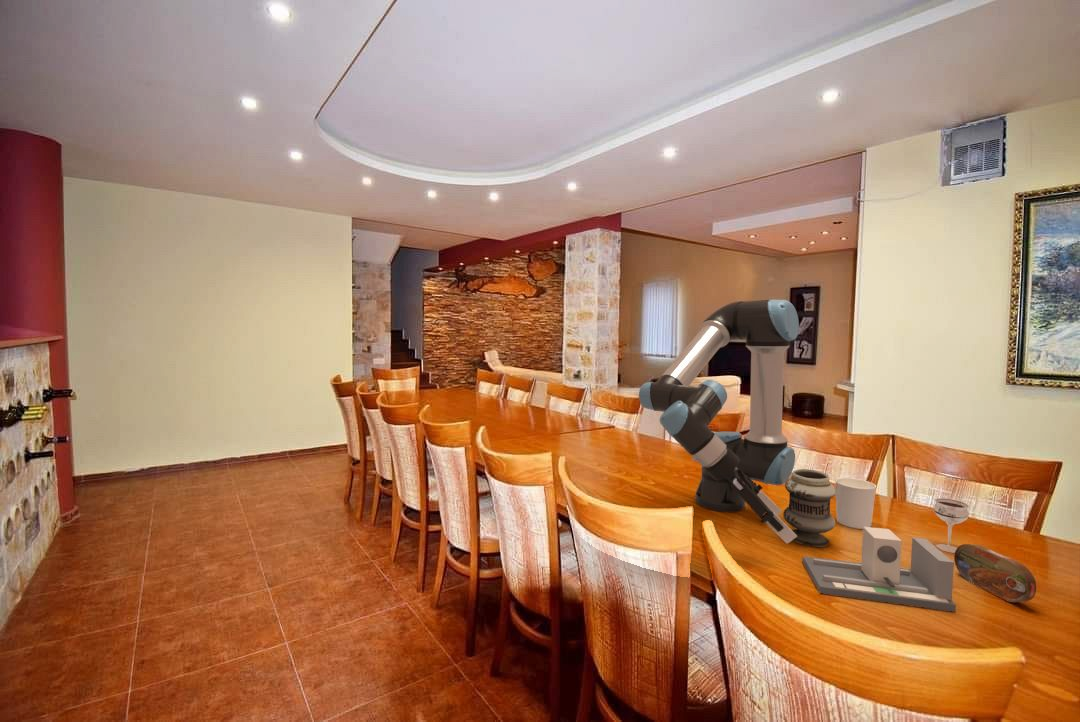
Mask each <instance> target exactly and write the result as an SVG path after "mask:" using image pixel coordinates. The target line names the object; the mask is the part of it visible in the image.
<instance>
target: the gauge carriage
mask: <svg viewBox="0 0 1080 722" xmlns="http://www.w3.org/2000/svg"><path fill="white" fill-rule="evenodd" d="M861 540H862V543H861V544H862V545H861V562H860V563H861V570H862V571H863V573H864V574H865V575H866V576H867V578H868V579H869V580H870V581H876V582H884V583H888V584H889V585H890V586H891V587H895V586H894V584H899V580H900V568H901V561H902V559H901V558H902V544H903V543H902V540H901V539H900V538H899V537H898V536H897V535H896V534H895V533H894V532H893V531H892V530H891V529H889V528H882V527H881V528H880V527H872V526H871V527H863V529H862V539H861Z"/></svg>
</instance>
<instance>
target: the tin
mask: <svg viewBox="0 0 1080 722" xmlns="http://www.w3.org/2000/svg"><path fill="white" fill-rule="evenodd" d="M956 548H957V549H956V551H955V553H953V554H954V556H953V557H954V558H953V559H954V561H953V562H954V566H955V567H956V569H957V571H958V573H959V574H960V575H961V576H962V578H963V579H965V580H966V581H967V580H968V582H969V581H970V582H969V583H971V582H972V583H971V584H973V583H974V584H975V586H976V585H977V587H978V586H979V587H978V588H980V587H981V588H980V589H982V588H983V590H984V589H985V590H984V591H986V590H987V591H986V592H988V591H989V592H988V593H990V592H991V593H990V594H992V593H993V594H992V595H994V594H995V595H994V596H996V597H997V596H998V598H999V597H1000V598H999V599H1001V598H1002V599H1001V600H1003V599H1004V600H1003V601H1005V600H1006V602H1008V603H1024V602H1025V603H1026V602H1030V601H1031V600H1032V599H1034V597H1035V595H1036V593H1037V581H1036V579H1035V577H1034V575H1033V573H1032V572H1031V570H1030V569H1029V568H1027V566H1025V565H1024V564H1023V563H1021V562H1019V561H1017V560H1015V559H1014V558H1010V557H1008V556H1006V555H1003V554H1001V553H999V552H996V551H994V550H992V549H989V548H987V547H985V546H982V545H979V544H971V543H970V544H969V543H967V544H966V543H964V544H961V545H959V546H958V547H956ZM974 584H973V585H974Z"/></svg>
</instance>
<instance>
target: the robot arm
mask: <svg viewBox="0 0 1080 722" xmlns="http://www.w3.org/2000/svg"><path fill="white" fill-rule="evenodd" d="M799 330H800V322H799V316H798V313H797V310H796V308H795V306H794V305H793V304H792V303H791V302H790V301H789V300H786V299H773V298H772V299H764V300H762V299H761V300H759V299H758V300H744V301H743V300H741V301H738V300H736V301H734V302H731V303H727V304H725V305H723V306H722V307H720V308H718V309H716V310H715V311H714V312H712V313H711V314H710V315H709V316H708V317H706V319H705V320H704V321H702V323H701V324H700V326H699V328H698V332H697V334H696V335H695V336H694V337H693V339H692V340H691V341H690V342H689V343H688V345H686V347H684V349H683V350H682V351H681V353H680V354H679V355H678V356H677V357H676V358H675V360H674V361H673V362H671V364H670V366H669V367H668V368H666V370H665V371H664V372H663V373H662V375H661V376H660V377H659V378H658V380H656V381H655V382H654V381H647V382H645V383H643V384H642V385H641V386H640V389H639V391H638V392H639V393H638V400H639V403H640V405H641V406H642V408H643V409H647V410H651V411H654V412H663V413H662V414H661V415H660V417H659V422H660V425H661V426H662V427H663V428H664V430H665V431H666V432H667V433H668V435H670V437H672V438H673V439H674V440H675V441H676V442H677V443H678V444H679V445H680V446H681V447H682V448H683V449H684V450H685V451H686V452H687V453H688V454H689V455H691V457H692V458H691V460H692V462H696V461H697V463H698V464H699V465H700V466H701V478H700V481H699V484H698V487H696V488H697V489H696V492H695V496H694V497H695V498H694V499H695V503H696V504H697V505H699V506H700V507H702V508H705V509H708V510H710V511H711V510H712V511H716V512H723V513H724V512H725V513H734V512H735V513H736V512H740V511H743V510H745V509H746V504H747V505H748V507H749V508H751V510H752V511H753V513H755V514H756V516H757V517H759V519H760V520H759V522H760V523H761V524H762V525H763V524H765V523H766V525H767V526H768V527H769V528H770V529H771V530H773V532H774V533H776V535H778V537H780V539H782V541H784V543H785V544H787V545H788V544H789V543H791V542H792V540H793V539H795V538H796V537H797V535H796V534H795V533H794V532H793V531H792V530H793V529H791V528H790V527H789V526H788V525H787V524H786V523H785V522H784V521H783V520H782V519H781V518H780V517H779V515H780V514H781V513H783V511H782V509H781V508H779V506H778V505H776V503H775V502H774V501H773V500H771V499H770V498H769V497H768V496H767V494H766V493H764V492H763V490H762V489H763V486H762V485H761V484H758V485H757V483H756V482H760V483H764V484H765V485H773V486H782V485H785V482H786V481H787V480H788V479H789V478H791V476H792V473H793V471H794V467H795V462H796V452H795V450H794V448H792V447H791V446H788V438H787V437H786V436H785V435H784V434H783V433H782V432H783V405H784V404H783V399H784V397H783V396H784V393H783V392H784V362H785V361H784V360H785V357H784V356H785V355H784V354H785V352H786V351H787V350H788V349H789V348H790V346H791V341H794V340H796V339H797V337H798V335H799V332H800V331H799ZM735 340H743V341H745V348H747V349H748V350H749V351H750V353H751V354H750V355H751V357H750V396H749V397H750V399H749V400H750V405H749V407H750V408H749V409H750V410H749V431H748V432H747V433H745V434H744V436H743V435H742V433H741V432H738V431H713V430H711V428H710V427H709V425H710V424H711V422H712V421H713V420H714V419H715V417H716V416H717V415H718V413H719V412H720V411H721V410H722V409H723V406H724V404H725V403H726V402H727V400H728V393H727V389H726V388H725V387H724V386H723V384H721V383H720V382H718V381H717V380H714V379H706V380H704V381H702V382H701V383H699V384H698V385H697V386H691V385H692V383H693V382H694V380H695V379H696V378H697V376H699V374H701V372H702V370H703V369H704V368H705V367H706V365H707V364H708V363H709V362H710V360H711V359H712V358H713V357H714V355H715V354H716V353H717V352H718V350H720V348H724V347H725V346H727V345H728V344H729V342H732V341H735ZM743 437H744V438H743ZM754 481H755V482H754Z"/></svg>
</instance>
